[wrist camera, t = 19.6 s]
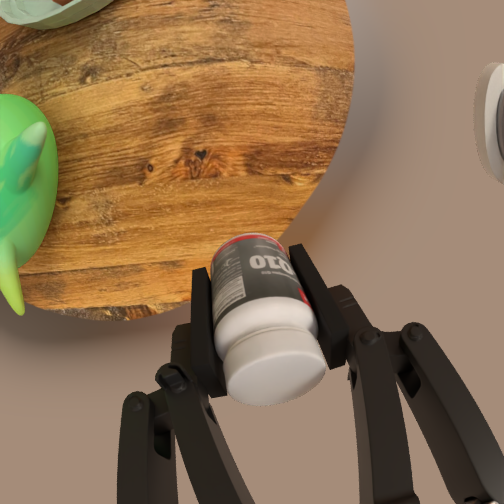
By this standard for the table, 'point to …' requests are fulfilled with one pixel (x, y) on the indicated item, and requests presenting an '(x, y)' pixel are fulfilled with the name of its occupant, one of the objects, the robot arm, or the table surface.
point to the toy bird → (24, 189)
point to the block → (62, 2)
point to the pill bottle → (263, 323)
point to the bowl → (48, 12)
